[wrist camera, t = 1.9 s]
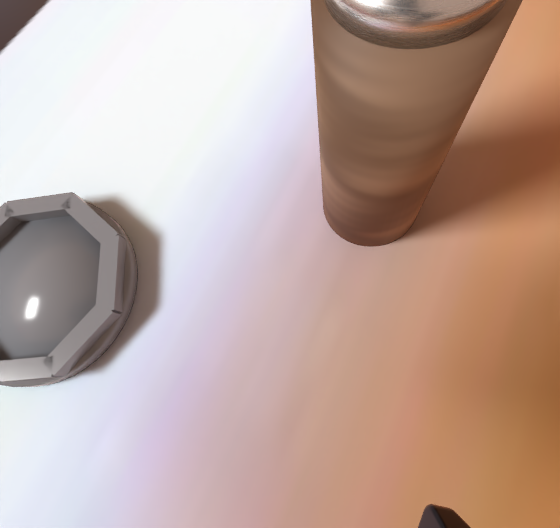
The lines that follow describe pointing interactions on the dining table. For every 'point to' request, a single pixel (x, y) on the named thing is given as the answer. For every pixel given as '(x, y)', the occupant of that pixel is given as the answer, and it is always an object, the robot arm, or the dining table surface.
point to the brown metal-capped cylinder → (395, 101)
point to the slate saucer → (60, 287)
